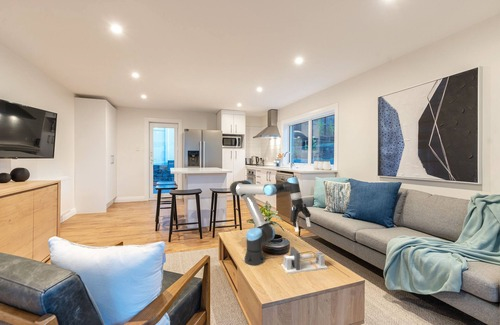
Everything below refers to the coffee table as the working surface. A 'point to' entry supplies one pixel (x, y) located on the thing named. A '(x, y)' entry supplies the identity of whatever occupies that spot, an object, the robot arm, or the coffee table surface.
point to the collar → (295, 257)
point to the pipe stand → (305, 263)
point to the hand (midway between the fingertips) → (303, 228)
